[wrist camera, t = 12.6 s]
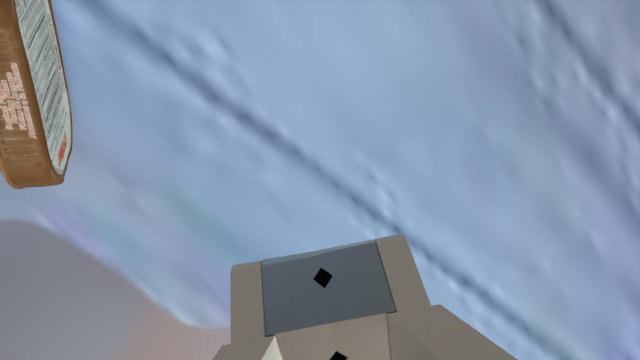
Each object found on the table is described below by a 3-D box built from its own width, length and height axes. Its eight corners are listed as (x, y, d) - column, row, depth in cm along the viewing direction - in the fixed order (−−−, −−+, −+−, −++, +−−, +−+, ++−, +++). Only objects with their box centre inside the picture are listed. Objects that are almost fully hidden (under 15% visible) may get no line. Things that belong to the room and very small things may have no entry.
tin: (-18, -95, 31) (-85, -53, 24) (44, -92, 31) (-5, -49, 24) (40, 140, 39) (2, 218, 33) (87, 139, 40) (60, 217, 33)
